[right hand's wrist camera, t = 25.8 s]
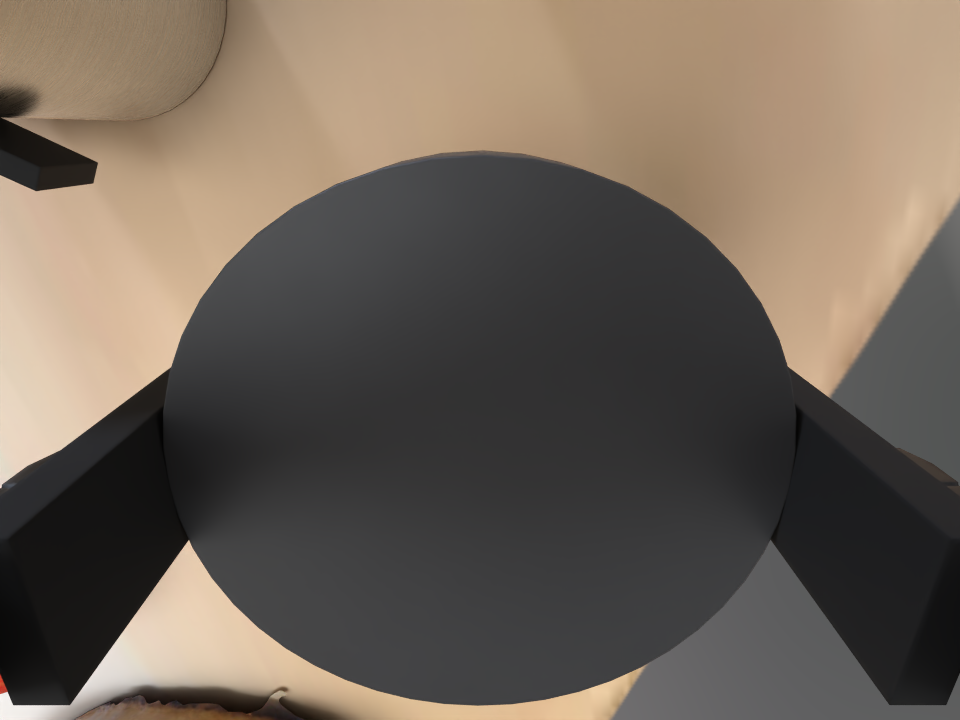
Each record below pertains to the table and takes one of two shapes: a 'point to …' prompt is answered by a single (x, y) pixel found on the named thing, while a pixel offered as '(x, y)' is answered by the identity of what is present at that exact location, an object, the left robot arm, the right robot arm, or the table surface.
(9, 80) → the jar
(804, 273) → the table surface
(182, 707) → the bread
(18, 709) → the table surface
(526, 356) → the lid
